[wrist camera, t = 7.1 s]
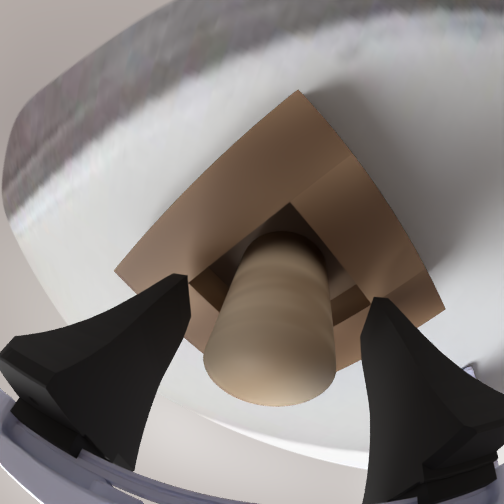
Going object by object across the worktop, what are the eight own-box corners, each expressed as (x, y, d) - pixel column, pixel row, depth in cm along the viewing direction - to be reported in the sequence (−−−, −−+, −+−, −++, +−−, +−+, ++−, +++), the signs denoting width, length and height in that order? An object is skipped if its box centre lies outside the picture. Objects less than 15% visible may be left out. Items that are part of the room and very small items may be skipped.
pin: (342, 277, 13) (360, 378, 8) (277, 317, 15) (261, 416, 9) (289, 213, 12) (278, 295, 7) (223, 264, 14) (178, 355, 8)
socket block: (425, 275, 13) (445, 309, 11) (271, 364, 18) (265, 400, 15) (298, 96, 11) (298, 89, 8) (142, 244, 15) (113, 270, 12)
